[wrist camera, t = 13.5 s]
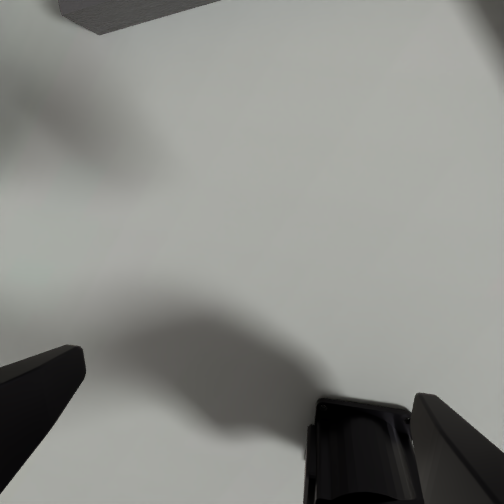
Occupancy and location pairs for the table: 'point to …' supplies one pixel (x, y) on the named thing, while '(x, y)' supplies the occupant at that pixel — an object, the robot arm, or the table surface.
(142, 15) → the grey peg board
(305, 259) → the table surface
